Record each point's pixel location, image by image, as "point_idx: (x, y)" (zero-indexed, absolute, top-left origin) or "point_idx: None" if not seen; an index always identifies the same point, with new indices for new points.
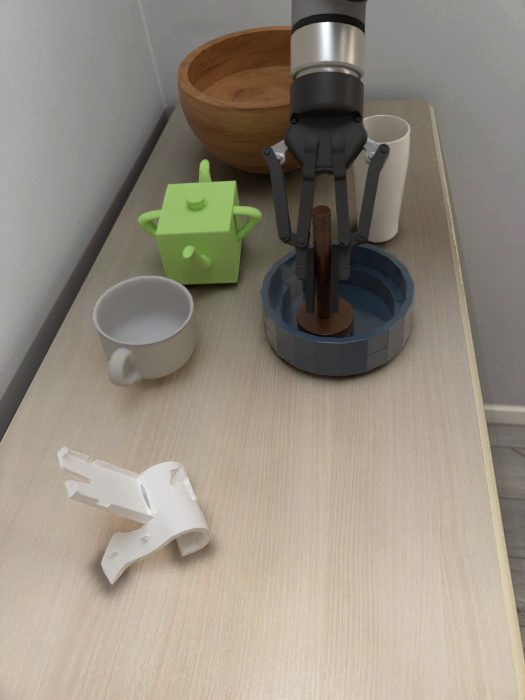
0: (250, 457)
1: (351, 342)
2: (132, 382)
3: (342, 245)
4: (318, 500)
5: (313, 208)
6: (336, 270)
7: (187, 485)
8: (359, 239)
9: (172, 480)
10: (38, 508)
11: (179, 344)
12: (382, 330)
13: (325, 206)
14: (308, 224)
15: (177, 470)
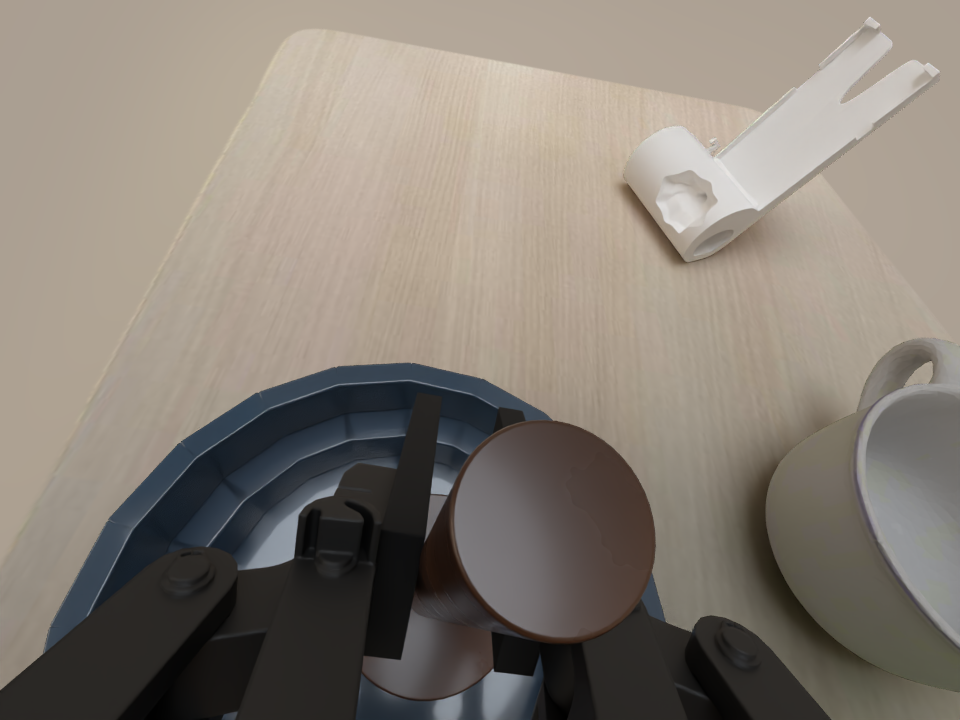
0: (584, 286)
1: (382, 364)
2: (864, 391)
3: (358, 502)
4: (477, 210)
5: (648, 572)
6: (406, 465)
7: (676, 223)
8: (226, 559)
9: (704, 213)
10: (856, 263)
11: (827, 440)
12: (279, 390)
13: (507, 603)
14: (598, 698)
15: (702, 224)
